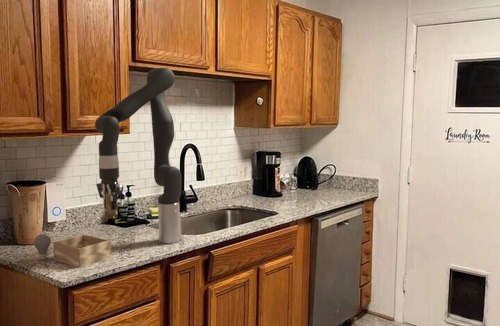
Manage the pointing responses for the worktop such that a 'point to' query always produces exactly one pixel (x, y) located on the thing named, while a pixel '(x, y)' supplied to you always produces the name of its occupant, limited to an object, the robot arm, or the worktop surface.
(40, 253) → the light bulb
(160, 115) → the robot arm
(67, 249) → the crate
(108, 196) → the peg
